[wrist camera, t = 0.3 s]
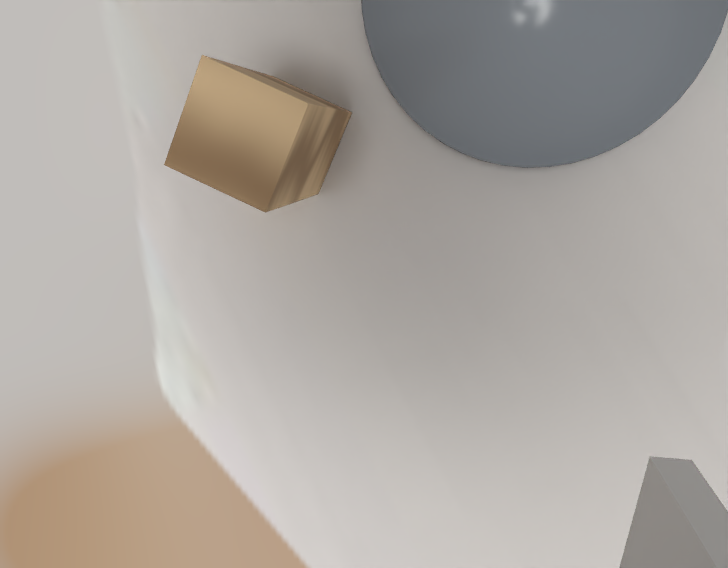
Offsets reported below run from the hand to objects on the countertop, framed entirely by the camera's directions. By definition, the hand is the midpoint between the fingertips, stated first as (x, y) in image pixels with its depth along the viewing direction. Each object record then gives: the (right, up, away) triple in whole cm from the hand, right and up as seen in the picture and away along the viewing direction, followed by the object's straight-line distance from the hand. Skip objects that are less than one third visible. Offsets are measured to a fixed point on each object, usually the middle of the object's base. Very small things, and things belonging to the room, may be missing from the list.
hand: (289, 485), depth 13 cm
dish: (+10, +19, +22) cm, 31 cm away
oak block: (-3, +12, +26) cm, 29 cm away
